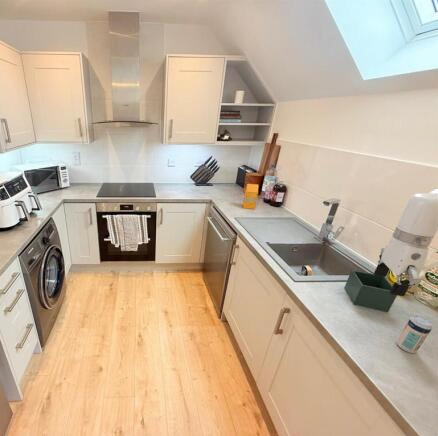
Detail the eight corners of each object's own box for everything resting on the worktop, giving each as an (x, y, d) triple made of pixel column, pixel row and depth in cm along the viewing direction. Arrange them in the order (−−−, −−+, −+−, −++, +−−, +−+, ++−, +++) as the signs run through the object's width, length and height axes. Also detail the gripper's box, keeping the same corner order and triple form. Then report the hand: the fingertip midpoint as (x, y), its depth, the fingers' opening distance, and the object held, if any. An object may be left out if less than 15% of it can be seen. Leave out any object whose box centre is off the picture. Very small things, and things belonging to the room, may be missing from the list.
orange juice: (242, 205, 203) (246, 182, 195) (253, 206, 201) (257, 183, 193) (243, 208, 196) (247, 185, 188) (254, 209, 194) (259, 185, 186)
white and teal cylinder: (411, 344, 80) (428, 317, 75) (419, 356, 76) (437, 329, 71) (392, 339, 81) (408, 313, 77) (399, 350, 77) (416, 323, 73)
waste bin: (375, 294, 102) (384, 275, 98) (388, 312, 92) (398, 292, 89) (344, 287, 106) (351, 269, 102) (353, 304, 96) (361, 285, 92)
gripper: (452, 254, 59) (420, 306, 66) (410, 226, 74) (387, 271, 81) (413, 249, 61) (387, 299, 68) (380, 223, 76) (361, 267, 83)
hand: (387, 284), depth 74 cm, fingers open, 9 cm apart
